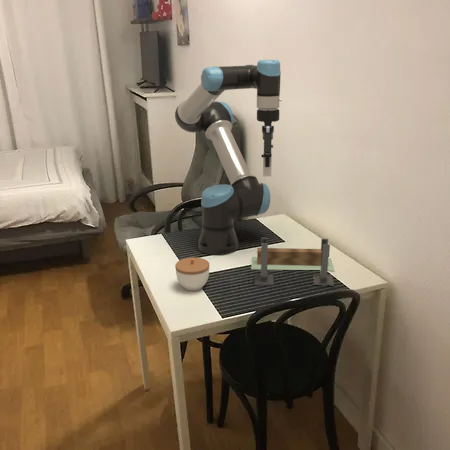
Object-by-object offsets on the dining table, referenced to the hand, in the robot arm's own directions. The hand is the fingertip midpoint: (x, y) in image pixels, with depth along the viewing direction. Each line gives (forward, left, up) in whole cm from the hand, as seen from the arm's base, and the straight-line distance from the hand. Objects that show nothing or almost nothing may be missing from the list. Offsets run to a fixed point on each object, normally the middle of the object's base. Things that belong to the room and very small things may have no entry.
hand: (267, 171), depth 172 cm
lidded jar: (-23, -28, -31) cm, 48 cm away
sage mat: (+9, -10, -31) cm, 34 cm away
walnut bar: (+9, -10, -30) cm, 33 cm away
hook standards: (+9, -23, -31) cm, 39 cm away
